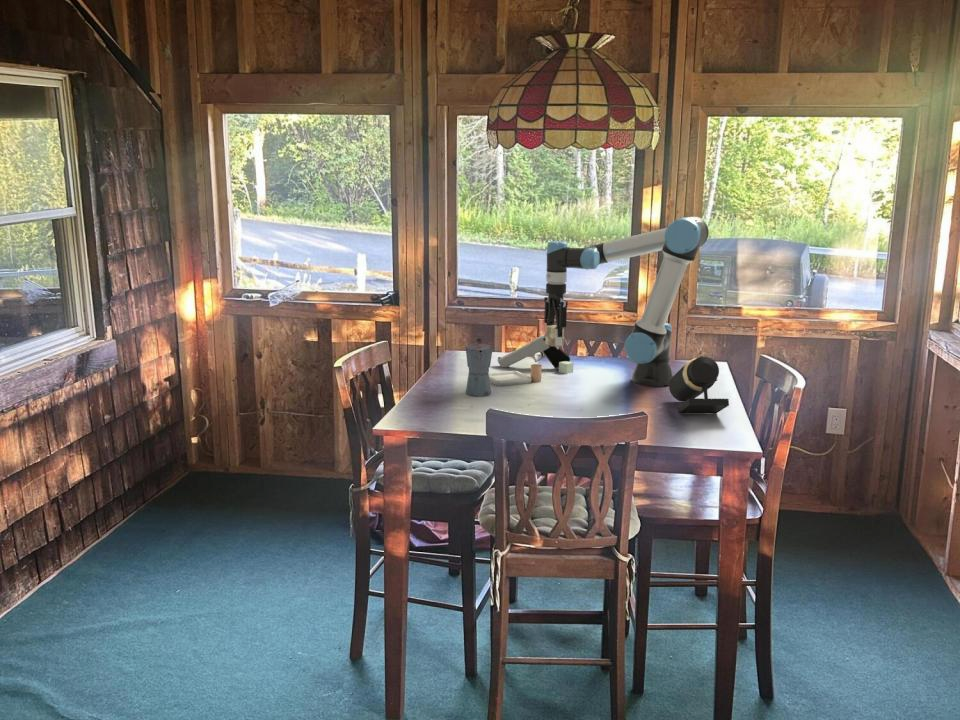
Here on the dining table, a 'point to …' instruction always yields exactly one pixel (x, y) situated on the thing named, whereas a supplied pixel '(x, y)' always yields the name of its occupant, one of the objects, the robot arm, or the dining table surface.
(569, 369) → the sage block
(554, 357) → the handgun
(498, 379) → the tray
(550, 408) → the dining table surface
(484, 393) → the moka pot
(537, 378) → the peach capsule
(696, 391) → the light fixture
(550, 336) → the birch block
